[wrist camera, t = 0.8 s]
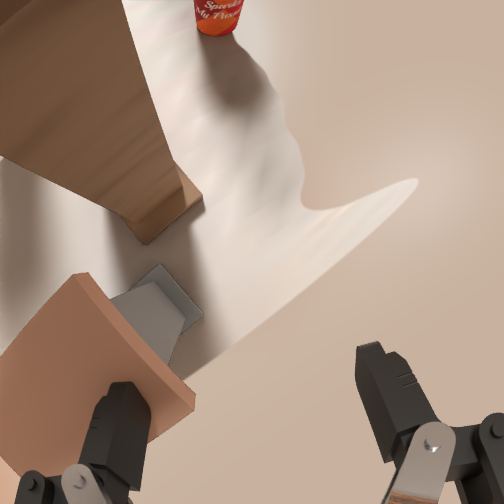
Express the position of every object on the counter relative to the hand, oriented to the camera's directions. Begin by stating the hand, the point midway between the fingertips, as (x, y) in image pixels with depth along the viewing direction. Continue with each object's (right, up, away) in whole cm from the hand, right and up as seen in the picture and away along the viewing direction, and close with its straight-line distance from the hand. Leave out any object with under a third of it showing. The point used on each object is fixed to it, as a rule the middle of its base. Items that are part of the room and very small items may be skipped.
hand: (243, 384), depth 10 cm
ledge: (-12, -3, +22) cm, 25 cm away
